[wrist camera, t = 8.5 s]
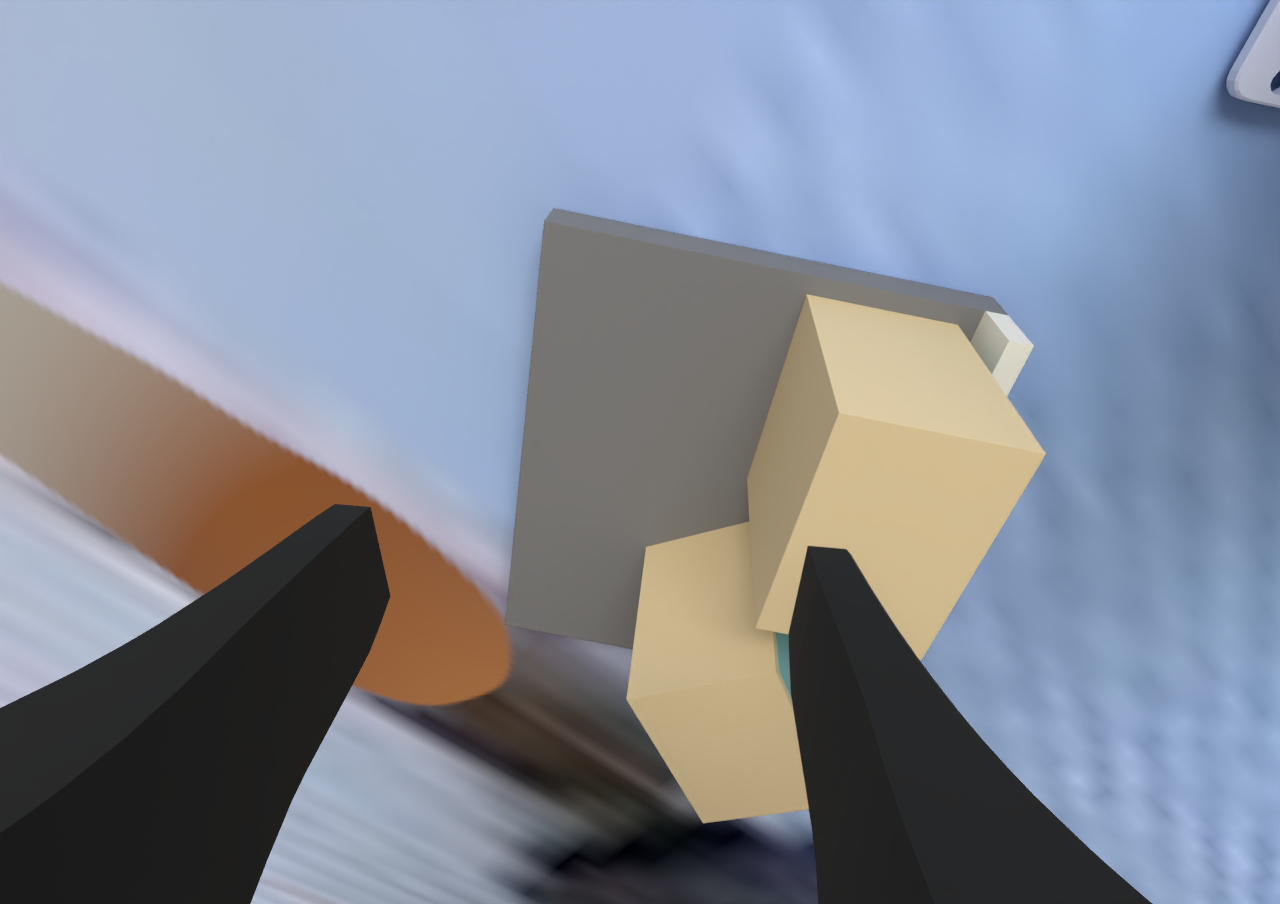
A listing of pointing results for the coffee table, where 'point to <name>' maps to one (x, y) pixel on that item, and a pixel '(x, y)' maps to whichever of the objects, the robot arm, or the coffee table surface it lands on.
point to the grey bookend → (666, 400)
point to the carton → (715, 680)
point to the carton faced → (883, 463)
